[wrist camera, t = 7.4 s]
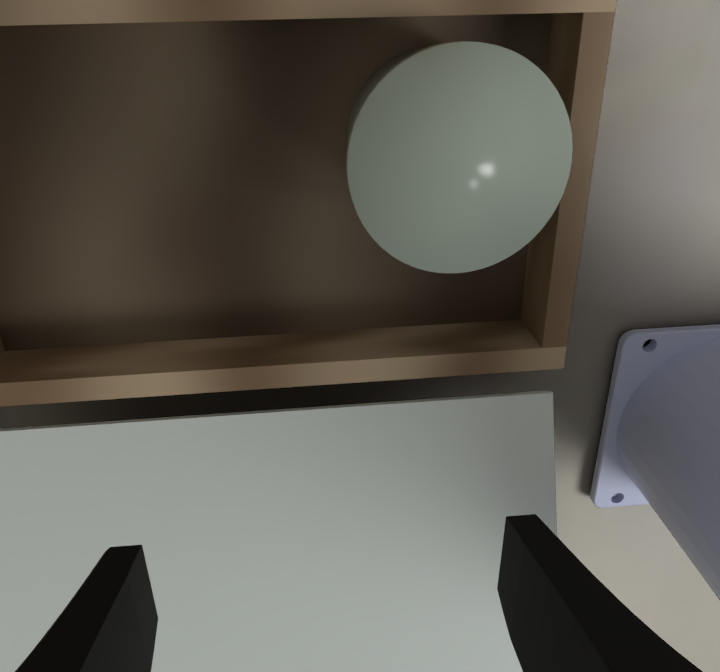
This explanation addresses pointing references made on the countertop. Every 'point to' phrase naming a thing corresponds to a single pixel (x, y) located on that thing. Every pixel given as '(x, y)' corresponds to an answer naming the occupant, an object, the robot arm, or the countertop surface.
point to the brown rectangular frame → (252, 199)
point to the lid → (285, 530)
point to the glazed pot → (457, 155)
